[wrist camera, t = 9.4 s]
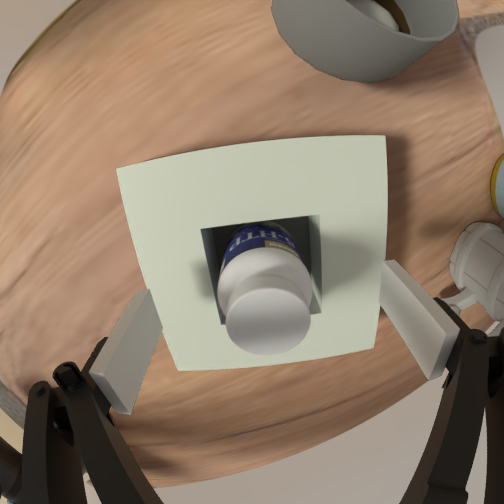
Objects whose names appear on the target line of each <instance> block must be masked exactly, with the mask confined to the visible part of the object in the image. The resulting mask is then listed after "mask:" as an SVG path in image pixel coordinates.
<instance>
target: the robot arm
mask: <svg viewBox="0 0 504 504" xmlns="http://www.w3.org/2000/svg"><path fill="white" fill-rule="evenodd" d="M379 304H380V305H381V307H382V308H383V310H384V311H385V313H386V314H387V315H388V317H389V318H390V320H391V322H392V323H393V325H394V326H395V328H396V329H397V331H398V332H399V334H400V335H401V337H402V338H403V340H404V342H405V343H406V345H407V346H408V348H409V350H410V351H411V353H412V354H413V356H414V358H415V359H416V361H417V363H418V364H419V366H420V368H421V369H422V371H423V373H424V374H425V376H426V378H427V379H428V381H429V380H431V379H434V378H437V377H439V376H441V375H442V373H443V371H444V369H445V366H446V368H447V369H448V371H449V373H448V376H447V378H446V380H445V382H444V384H443V386H442V388H444V391H443V395H442V398H441V402H440V405H439V409H438V412H437V416H436V419H435V422H434V425H433V428H432V431H431V434H430V437H429V439H428V442H427V445H426V448H425V450H424V453H423V455H422V457H421V460H420V462H419V465H418V467H417V469H416V472H415V474H414V476H413V478H412V480H411V482H410V484H409V486H408V488H407V490H406V492H405V494H404V496H403V498H402V500H401V502H400V503H399V504H467V500H468V492H466V491H465V488H466V484H467V481H468V478H469V475H470V471H471V468H472V464H473V461H474V457H475V453H476V449H477V445H478V441H479V436H480V431H481V426H482V421H483V415H484V408H485V412H486V426H487V476H486V489H485V498H484V504H504V327H503V328H502V329H501V331H500V334H499V336H491V337H488V336H487V335H486V333H484V332H483V331H481V330H478V329H470V328H469V327H468V326H467V325H466V324H465V323H464V322H463V320H462V319H461V318H460V317H459V316H458V315H457V314H455V312H454V311H453V310H452V309H451V307H450V306H449V305H448V304H447V303H446V302H445V301H443V300H441V299H439V298H438V297H436V298H432V297H431V296H430V295H429V294H428V293H427V292H426V291H425V290H424V289H423V288H422V287H421V286H420V285H419V284H418V283H417V281H416V280H415V279H414V278H413V277H412V276H411V275H410V274H409V273H408V272H407V271H406V270H405V269H404V268H403V267H402V266H401V265H399V264H398V263H397V262H396V261H395V260H387V261H383V264H382V276H381V286H380V295H379ZM162 329H163V326H162V323H161V321H160V318H159V315H158V312H157V309H156V306H155V303H154V301H153V298H152V295H151V292H150V289H144V290H138V291H137V292H136V294H135V295H134V297H133V298H132V300H131V302H130V303H129V305H128V306H127V308H126V310H125V311H124V313H123V314H122V316H121V318H120V319H119V321H118V322H117V324H116V326H115V327H114V329H113V331H112V332H111V334H110V336H109V337H104V338H103V339H102V340H101V341H100V342H99V343H98V344H97V345H96V347H95V349H94V352H92V354H91V355H90V357H89V359H88V360H87V362H86V364H85V366H84V367H83V369H82V371H81V372H80V370H79V368H78V367H77V365H76V364H75V363H74V362H65V363H62V364H61V365H59V366H58V367H57V368H56V369H55V370H54V372H53V378H54V380H55V381H56V383H57V384H58V385H59V387H57V388H52V387H51V386H50V385H49V383H48V382H46V381H40V382H37V383H35V384H34V385H33V386H32V388H31V389H30V392H29V397H28V403H27V410H26V417H25V426H24V437H23V449H22V454H21V453H19V452H18V451H17V450H16V449H14V448H13V447H12V446H11V445H10V444H8V443H7V442H6V441H5V440H4V439H3V438H2V437H0V498H1V495H2V496H4V497H5V498H7V499H8V500H7V502H8V504H87V499H86V493H85V488H84V481H83V475H84V473H85V472H86V471H87V472H88V474H89V477H90V479H91V482H92V484H93V486H94V488H95V490H96V492H97V495H98V497H99V499H100V501H101V503H102V504H164V503H163V502H162V501H161V499H160V498H159V497H158V495H157V494H156V492H155V491H154V489H153V488H152V486H151V485H150V483H149V482H148V480H147V479H146V477H145V475H144V474H143V472H142V471H141V469H140V467H139V466H138V464H137V462H136V461H135V459H134V457H133V455H132V454H131V452H130V450H129V448H128V446H127V445H126V443H125V441H124V439H123V437H122V435H121V433H120V431H119V429H118V427H117V425H116V423H115V421H114V419H113V417H112V415H111V414H110V413H109V410H110V407H111V406H112V407H113V408H114V410H115V411H116V412H117V413H121V414H129V415H131V413H132V410H133V407H134V404H135V401H136V398H137V396H138V393H139V390H140V387H141V384H142V382H143V379H144V376H145V373H146V371H147V368H148V365H149V363H150V360H151V357H152V355H153V352H154V350H155V347H156V344H157V342H158V339H159V337H160V334H161V332H162Z"/></svg>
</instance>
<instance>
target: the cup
mask: <svg viewBox="0 0 504 504" xmlns="http://www.w3.org/2000/svg"><path fill="white" fill-rule="evenodd" d="M271 11H272V14H273V17H274V20H275V23H276V26H277V29H278V32H279V34H280V35H281V37H282V38H283V39H284V40H285V42H286V43H287V44H288V45H289V47H290V48H291V49H292V51H293V52H294V53H295V54H296V55H297V56H299V57H300V58H302V59H303V60H304V61H306V62H307V63H309V64H310V65H311V66H313V67H314V68H315V69H317V70H319V71H322V72H324V73H327V74H329V75H332V76H334V77H336V78H339V79H341V80H348V81H357V82H365V83H372V82H376V81H380V80H385V79H390V78H394V77H396V76H397V75H398V74H399V73H401V72H402V71H403V70H405V69H406V68H407V67H409V66H410V65H411V64H413V63H414V62H415V61H416V60H418V59H419V58H420V57H422V56H423V55H424V54H426V53H427V52H428V51H430V50H431V49H432V48H434V47H435V46H436V45H438V44H439V43H440V42H442V41H443V40H444V39H446V38H447V37H449V36H450V35H451V34H453V33H454V32H455V30H456V27H457V24H458V21H459V10H458V4H457V0H272V7H271Z"/></svg>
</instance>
